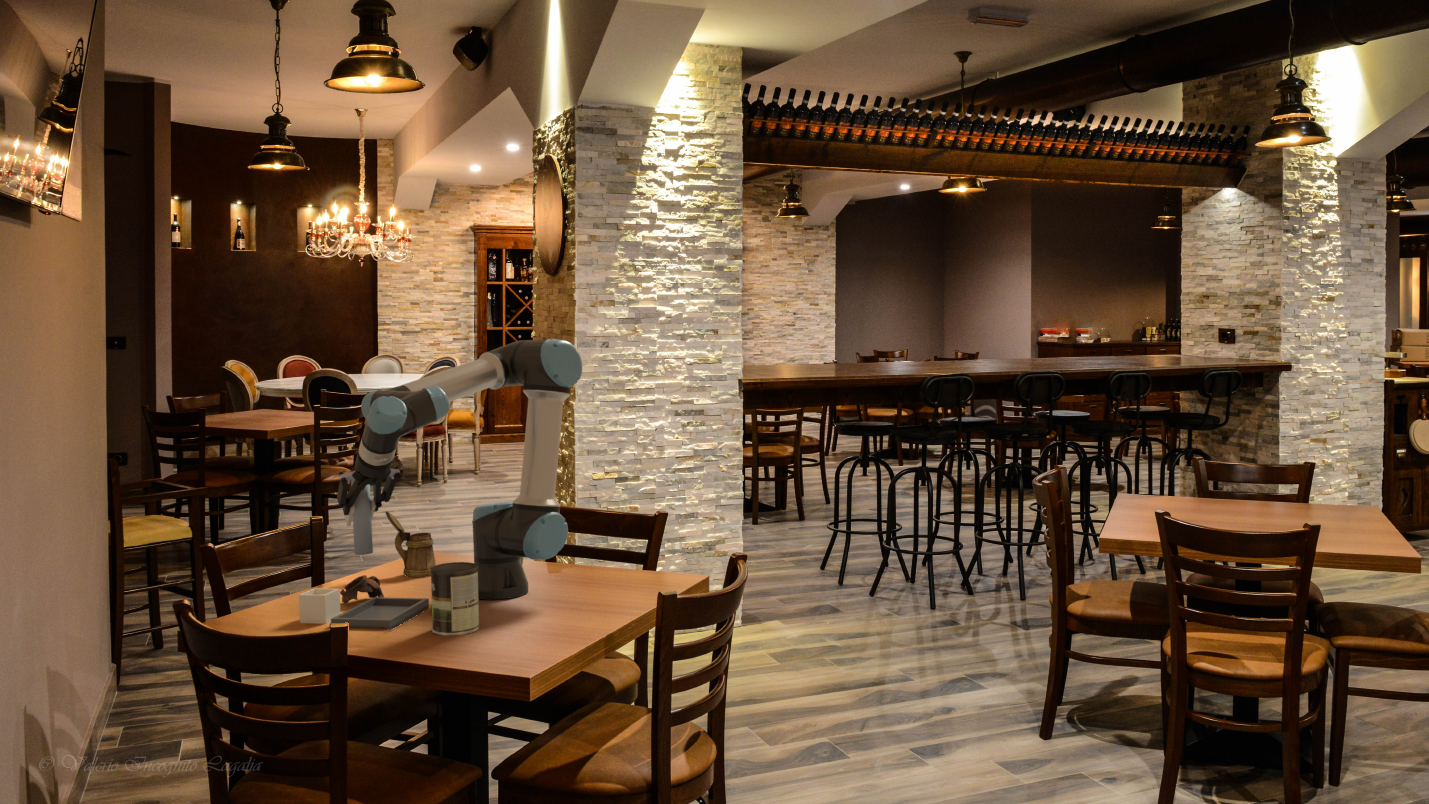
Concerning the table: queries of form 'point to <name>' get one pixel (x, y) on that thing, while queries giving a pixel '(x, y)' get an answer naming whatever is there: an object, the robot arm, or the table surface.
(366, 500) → the dowel
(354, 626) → the tray
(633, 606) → the table surface
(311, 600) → the cube pedestal base
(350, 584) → the brown curved piece
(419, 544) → the wooden mug
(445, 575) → the coffee can
